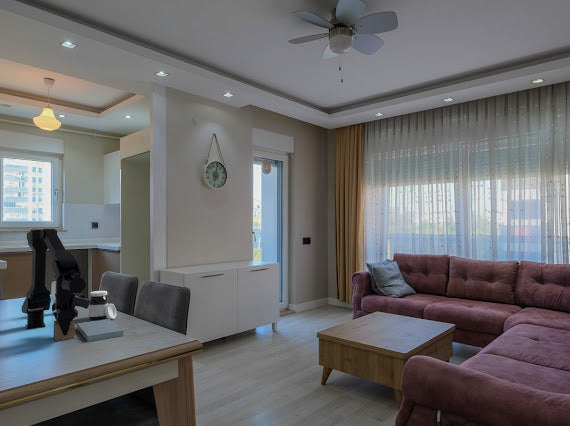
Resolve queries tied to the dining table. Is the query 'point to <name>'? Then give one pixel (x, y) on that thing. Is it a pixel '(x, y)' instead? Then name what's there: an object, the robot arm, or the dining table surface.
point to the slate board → (99, 330)
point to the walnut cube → (59, 335)
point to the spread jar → (101, 306)
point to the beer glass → (53, 293)
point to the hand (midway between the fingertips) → (64, 333)
